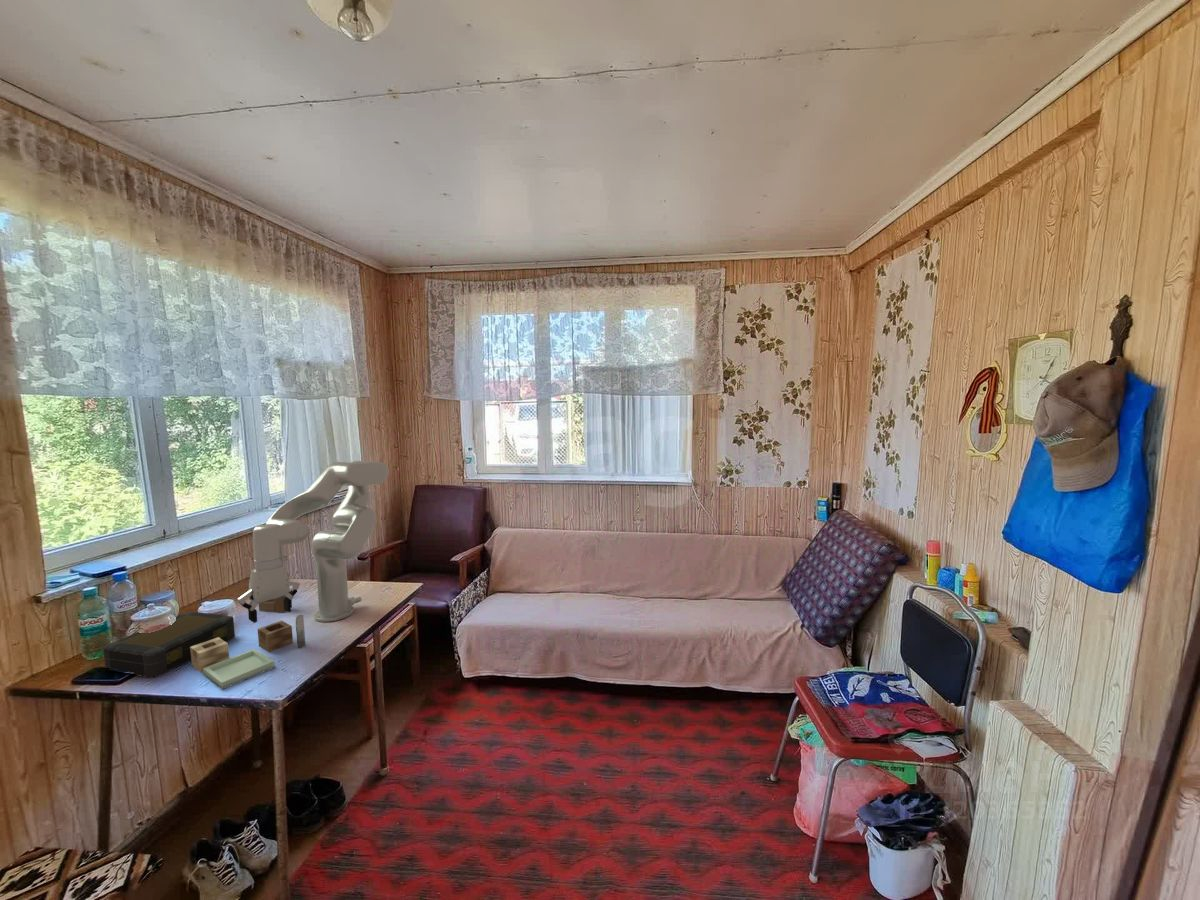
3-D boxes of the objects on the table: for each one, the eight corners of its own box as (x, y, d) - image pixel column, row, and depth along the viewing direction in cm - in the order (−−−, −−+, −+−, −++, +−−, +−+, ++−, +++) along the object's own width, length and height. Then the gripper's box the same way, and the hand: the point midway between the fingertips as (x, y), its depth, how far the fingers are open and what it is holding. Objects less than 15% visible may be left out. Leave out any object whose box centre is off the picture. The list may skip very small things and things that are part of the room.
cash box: (189, 631, 166) (187, 609, 165) (237, 637, 162) (235, 615, 161) (100, 671, 142) (97, 646, 141) (154, 679, 137) (151, 654, 136)
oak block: (220, 655, 150) (218, 637, 149) (229, 662, 146) (227, 643, 145) (192, 666, 144) (190, 646, 143) (201, 673, 140) (199, 653, 140)
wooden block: (283, 613, 179) (280, 566, 177) (258, 611, 181) (254, 564, 179) (291, 608, 183) (288, 562, 181) (266, 606, 185) (263, 561, 183)
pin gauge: (303, 643, 157) (301, 614, 156) (306, 645, 155) (304, 615, 154) (296, 646, 155) (293, 616, 154) (299, 648, 154) (297, 618, 152)
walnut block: (282, 637, 161) (281, 620, 160) (293, 643, 157) (291, 625, 156) (258, 646, 155) (257, 628, 155) (269, 652, 151) (267, 634, 151)
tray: (255, 654, 150) (254, 648, 150) (274, 667, 143) (274, 661, 143) (203, 674, 139) (202, 668, 139) (222, 689, 132) (221, 682, 132)
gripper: (292, 555, 162) (294, 604, 163) (231, 568, 148) (234, 623, 149) (303, 558, 158) (305, 609, 159) (241, 573, 144) (244, 629, 145)
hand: (271, 616), depth 154 cm, fingers open, 9 cm apart
